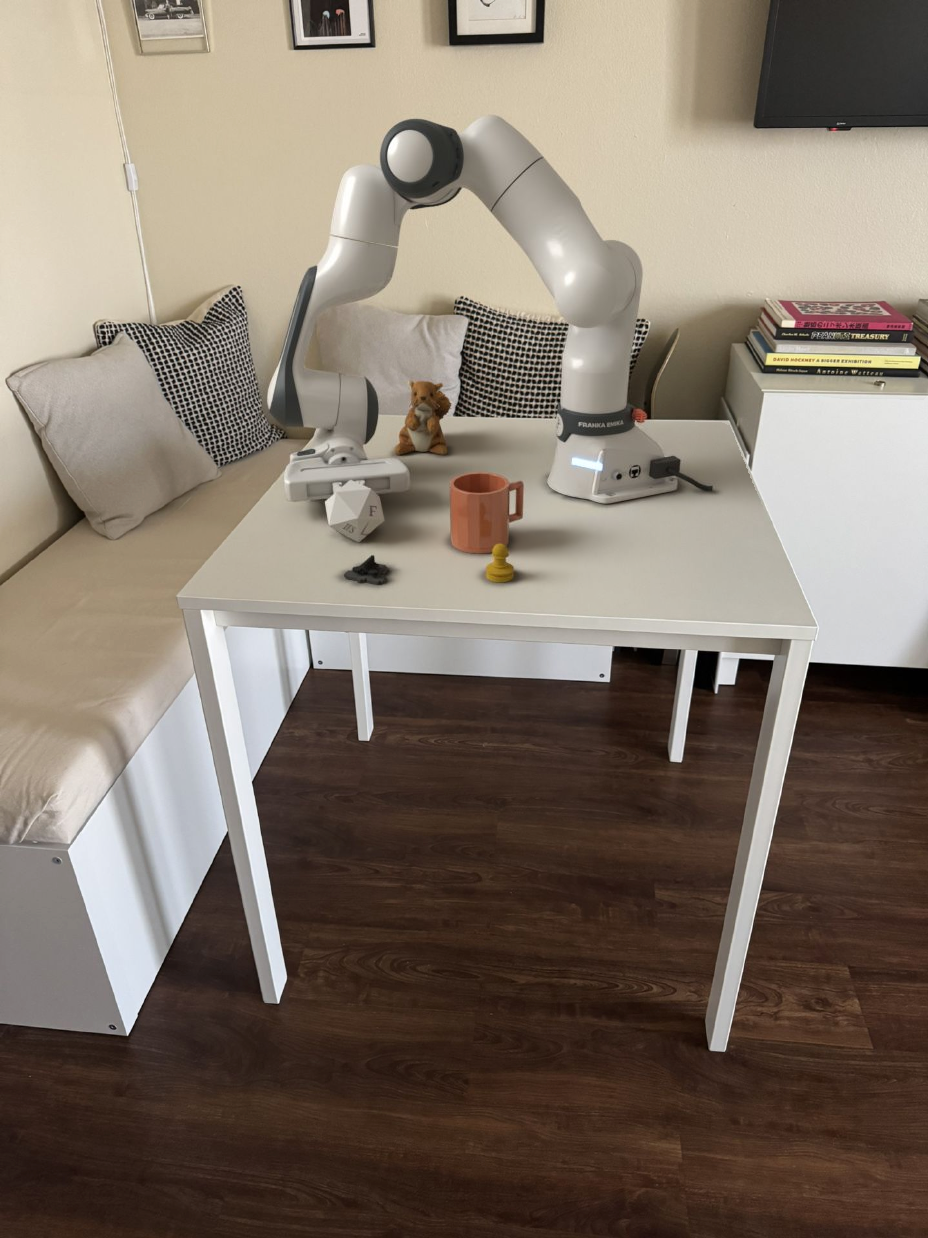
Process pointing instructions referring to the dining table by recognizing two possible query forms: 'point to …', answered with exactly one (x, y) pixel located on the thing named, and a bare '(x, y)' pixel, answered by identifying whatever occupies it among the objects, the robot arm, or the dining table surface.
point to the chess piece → (499, 565)
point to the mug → (482, 511)
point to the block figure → (368, 572)
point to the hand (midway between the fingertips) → (352, 498)
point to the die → (354, 510)
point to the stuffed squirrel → (424, 420)
